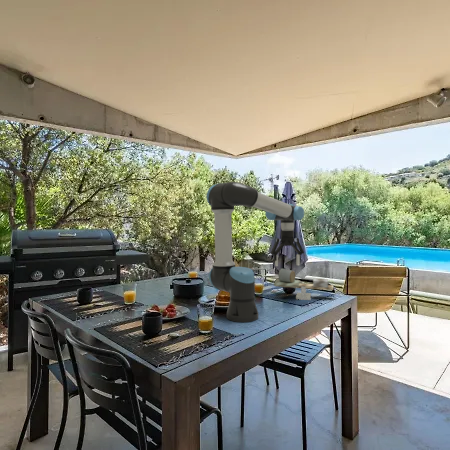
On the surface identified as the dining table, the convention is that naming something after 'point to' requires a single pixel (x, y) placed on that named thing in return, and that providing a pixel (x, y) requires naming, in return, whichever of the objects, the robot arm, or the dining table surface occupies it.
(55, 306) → the dining table surface
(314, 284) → the balance beam
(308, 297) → the stand
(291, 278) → the ceramic mug
